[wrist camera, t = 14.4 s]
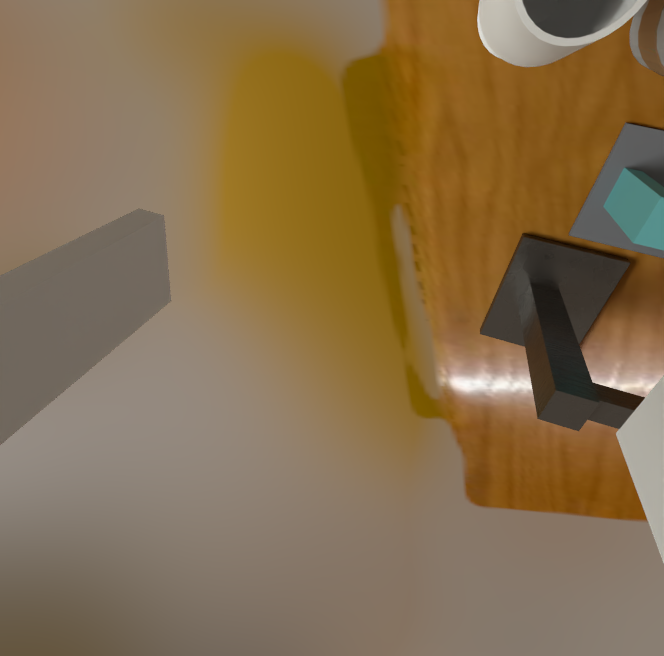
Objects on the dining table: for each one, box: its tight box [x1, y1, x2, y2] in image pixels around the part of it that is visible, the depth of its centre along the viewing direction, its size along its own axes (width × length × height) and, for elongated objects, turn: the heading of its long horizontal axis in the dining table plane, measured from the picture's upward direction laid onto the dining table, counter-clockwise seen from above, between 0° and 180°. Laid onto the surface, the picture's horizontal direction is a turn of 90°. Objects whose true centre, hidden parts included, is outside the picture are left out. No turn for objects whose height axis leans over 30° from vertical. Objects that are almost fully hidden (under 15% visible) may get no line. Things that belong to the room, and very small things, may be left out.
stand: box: [480, 233, 645, 431], centre depth 37 cm, size 12×16×18 cm
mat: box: [569, 123, 664, 258], centre depth 38 cm, size 10×10×1 cm
